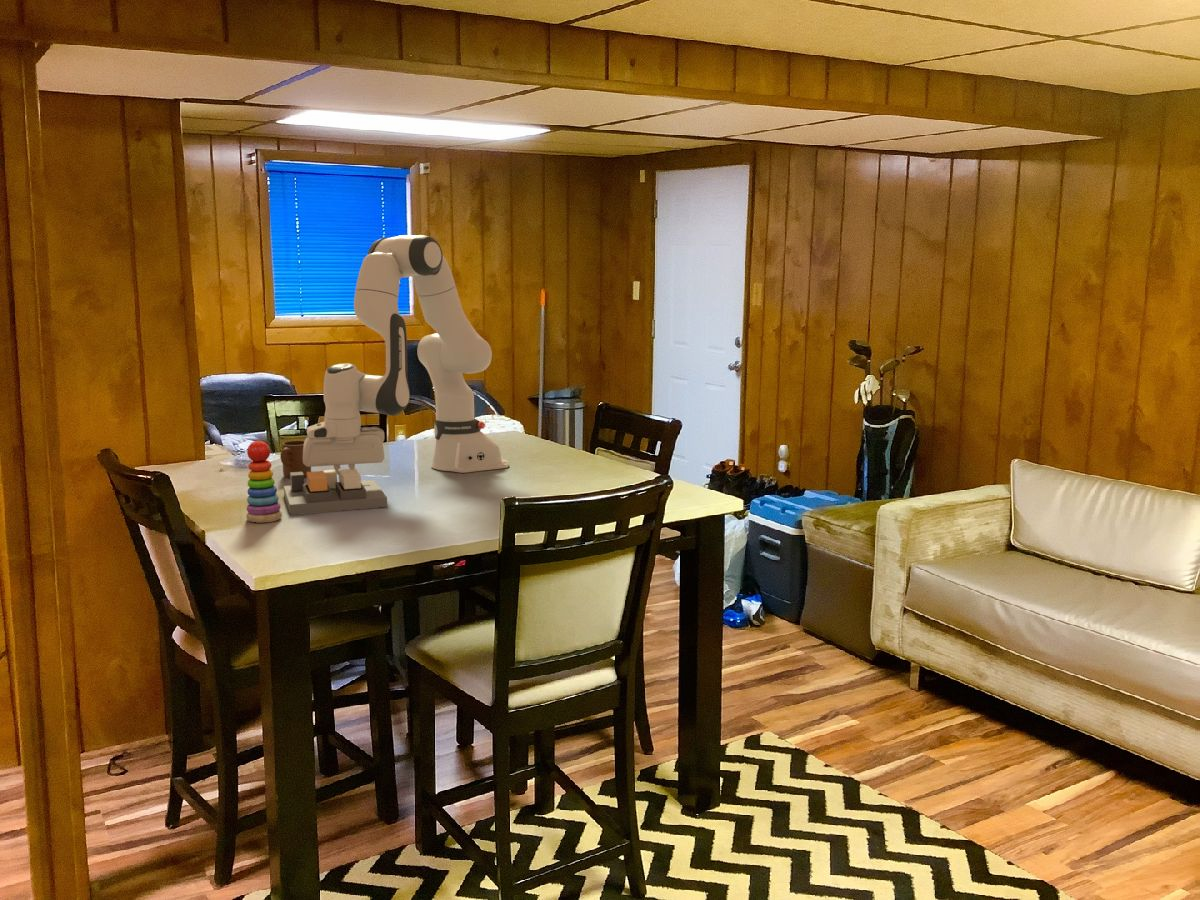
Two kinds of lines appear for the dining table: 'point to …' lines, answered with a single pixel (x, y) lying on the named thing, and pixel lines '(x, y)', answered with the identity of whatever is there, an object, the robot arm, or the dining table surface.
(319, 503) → the grey base platform
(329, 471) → the slider
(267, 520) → the stacking toy
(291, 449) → the mug
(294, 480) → the slider
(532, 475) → the dining table surface
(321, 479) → the button
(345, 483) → the button
